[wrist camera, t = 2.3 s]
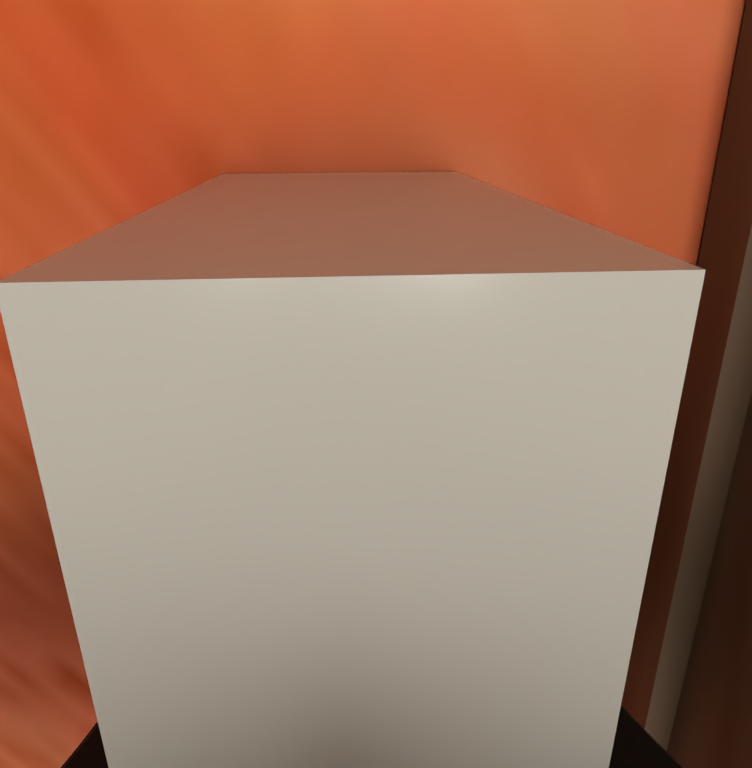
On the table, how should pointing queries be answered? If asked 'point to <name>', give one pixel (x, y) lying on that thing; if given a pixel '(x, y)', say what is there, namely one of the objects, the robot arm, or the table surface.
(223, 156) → the table surface
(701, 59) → the table surface
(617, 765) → the robot arm
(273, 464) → the white rectangular block
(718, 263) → the rack
